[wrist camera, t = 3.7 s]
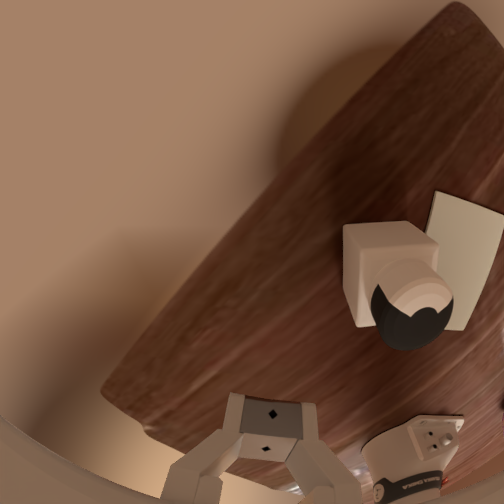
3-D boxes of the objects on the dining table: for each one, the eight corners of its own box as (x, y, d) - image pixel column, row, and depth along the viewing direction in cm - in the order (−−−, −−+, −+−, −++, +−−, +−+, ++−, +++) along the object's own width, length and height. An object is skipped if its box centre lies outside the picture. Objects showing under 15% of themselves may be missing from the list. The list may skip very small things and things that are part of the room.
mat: (504, 215, 23) (506, 216, 23) (462, 328, 29) (463, 330, 29) (435, 190, 24) (436, 191, 23) (392, 324, 30) (393, 326, 29)
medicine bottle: (403, 282, 28) (450, 352, 17) (342, 289, 29) (368, 369, 18) (408, 219, 25) (473, 269, 14) (342, 223, 26) (380, 280, 15)
